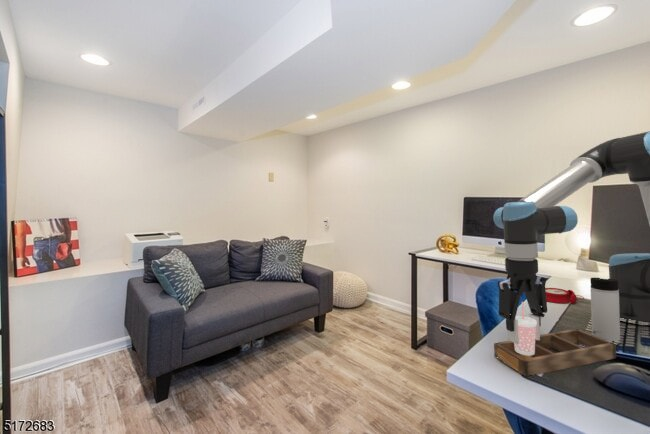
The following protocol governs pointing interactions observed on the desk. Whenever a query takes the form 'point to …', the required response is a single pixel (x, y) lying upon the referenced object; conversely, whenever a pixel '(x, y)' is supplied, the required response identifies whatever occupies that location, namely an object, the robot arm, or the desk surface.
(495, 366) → the desk surface
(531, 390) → the desk surface
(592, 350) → the walnut rack
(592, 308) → the travel mug
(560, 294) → the alarm clock
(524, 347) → the beverage cup
